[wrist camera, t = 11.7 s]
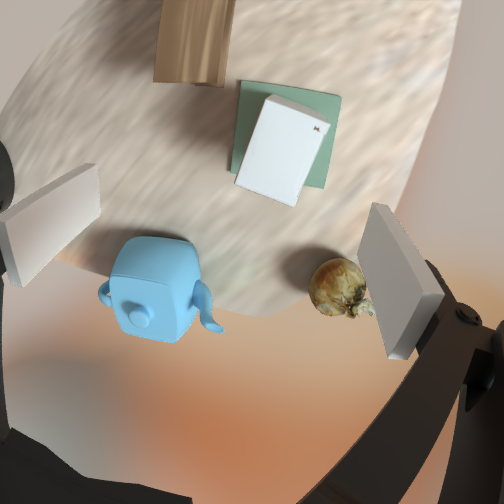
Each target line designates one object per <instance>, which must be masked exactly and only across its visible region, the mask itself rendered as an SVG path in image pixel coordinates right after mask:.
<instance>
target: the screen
mask: <svg viewBox="0 0 504 504" xmlns="http://www.w3.org/2000/svg"><path fill="white" fill-rule="evenodd" d="M235 1H236V0H163V5H162V11H161V18H160V25H159V32H158V40H157V48H156V57H155V67H154V78H153V82H161V83H193V82H196V84H195V85H196V86H211V87H224V80H225V72H226V64H227V56H228V49H229V42H230V34H231V27H232V20H233V14H234V7H235Z"/></svg>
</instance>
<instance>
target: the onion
mask: <svg viewBox="0 0 504 504" xmlns="http://www.w3.org/2000/svg"><path fill="white" fill-rule="evenodd" d="M317 268H318V267H317ZM365 291H366V281H365V279H364V277H363V274H362V272H361V270H360V269H359V268H358V266H357V265H356V264H355V263H353V262H352V261H350V260H346V259H342V258H335V259H331V260H328V261H326V262H325V263H323V264H322V265H321V266H320V267H319V268H318V269H317V270H316V271H315V273H314V274H313V276H312V278H311V280H310V283H309V295H310V298H311V301H312V303H313V304H314V306H315V307H316V309H318V310H319V311H320V312H321V313H322V314H324V315H327V316H338V315H344V314H345V315H346V317H349V318H352V319H354V318H355V317H356V314H357V315H358V316H359V317H360V313H361V311H362V310H363V311H365V312H366V313H368V314H369V315H370V316H372V315H373V314H374V315H375V314H376V313H375V310H374V306H373V304H372V302H371V301H369V300H368V299H363V297H364V295H365Z"/></svg>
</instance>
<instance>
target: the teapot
mask: <svg viewBox="0 0 504 504" xmlns="http://www.w3.org/2000/svg"><path fill="white" fill-rule="evenodd" d="M109 292H110V296H107V295H106V294H107V293H109ZM98 296H99V299H100V301H101V302H102V303H103V304H104V305H106V306H110V307H113V309H114V312H115V315H116V318H117V321H118V323H119V325H120V327H121V329H122V330H123V331H124V332H125V333H127V334H131V335H134V336H138V337H142V338H146V339H152V340H156V341H162V342H169V343H175V342H176V341H177V340H178V339H179V338H180V337H181V336H182V335H183V334H184V333H185V332H186V330H187V329H188V328H189V327H190V325H191V324H192V322H193V320H194V318H195V316H196V314H197V312H198V309H200V321H201V323H202V324H203V326H204V327H205V328H207V329H208V330H210V331H213V332H216V333H224V329H223V328H222V327H221V326H220V325H218V324H217V323H216V322H215V321H214V320H213V317H212V296H211V292H210V290H209V289H208V287H207V286H206V285H205V284H204V283H202V281H201V271H200V265H199V259H198V255H197V251H196V248H195V246H194V245H193V244H192V243H190V242H187V241H182V240H177V239H170V238H163V237H151V236H138V237H134V238H131V239H130V240H128V241H127V242H126V243H125V244H124V246H123V247H122V249H121V250H120V252H119V254H118V256H117V258H116V260H115V262H114V265H113V268H112V270H111V273H110V277H109V280H108V281H107V282H105V283H104V284H102V285H101V286H100V288H99V290H98Z"/></svg>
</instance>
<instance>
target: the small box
mask: <svg viewBox="0 0 504 504" xmlns="http://www.w3.org/2000/svg"><path fill="white" fill-rule="evenodd" d="M330 126H331V124H330V123H329V122H328V121H327V120H326V119H325V118H324V117H323V115H322V114H321V113H320V112H318V111H316V110H314V109H311V108H309V107H307V106H304V105H302V104H299V103H297V102H294V101H292V100H289V99H286V98H284V97H281V96H278V95H275V94H272V95H270V96H269V97H267V98H266V99H264V102H263V105H262V107H261V110H260V113H259V115H258V118H257V121H256V123H255V126H254V129H253V131H252V134H251V136H250V139H249V142H248V145H247V147H246V150H245V153H244V156H243V159H242V162H241V164H240V167H239V170H238V173H237V176H236V179H235V181H234V184H235V185H237V186H240V187H242V188H245V189H248V190H250V191H253V192H255V193H258V194H261V195H263V196H266V197H268V198H271V199H273V200H276V201H278V202H281V203H283V204H286V205H288V206H291V207H294V206H295V204H296V201H297V199H298V196H299V194H300V191H301V189H302V187H303V184H304V182H305V180H306V178H307V175H308V173H309V171H310V168H311V166H312V164H313V162H314V159H315V157H316V155H317V153H318V150H319V148H320V146H321V144H322V142H323V140H324V138H325V136H326V134H327V132H328V129H329V128H330Z"/></svg>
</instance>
